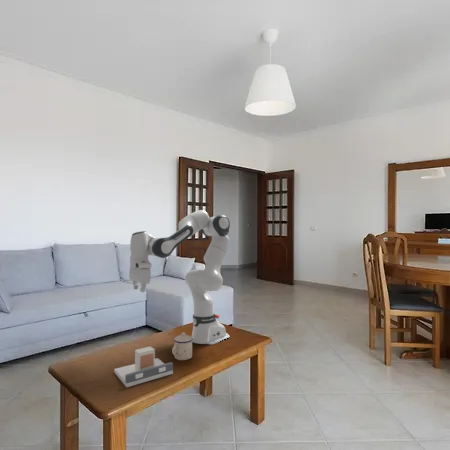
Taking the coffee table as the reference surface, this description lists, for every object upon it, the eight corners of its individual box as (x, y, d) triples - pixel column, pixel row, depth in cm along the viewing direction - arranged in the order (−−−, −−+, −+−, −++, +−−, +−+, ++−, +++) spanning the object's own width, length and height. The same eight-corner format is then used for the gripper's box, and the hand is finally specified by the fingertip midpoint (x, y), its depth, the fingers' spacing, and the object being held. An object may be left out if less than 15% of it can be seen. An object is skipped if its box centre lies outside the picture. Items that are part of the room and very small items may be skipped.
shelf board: (157, 361, 149) (157, 351, 149) (173, 374, 135) (173, 363, 135) (114, 372, 137) (114, 362, 137) (126, 387, 124) (127, 376, 124)
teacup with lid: (182, 351, 160) (182, 328, 160) (196, 355, 155) (196, 331, 155) (165, 359, 150) (165, 335, 150) (180, 364, 145) (180, 339, 145)
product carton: (150, 366, 139) (150, 346, 139) (154, 370, 135) (154, 349, 135) (134, 370, 135) (135, 349, 135) (139, 375, 131) (139, 353, 131)
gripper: (126, 261, 167) (126, 288, 167) (140, 265, 151) (140, 294, 150) (137, 261, 171) (137, 286, 171) (153, 264, 154) (152, 292, 154)
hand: (139, 290), depth 160 cm, fingers open, 8 cm apart
